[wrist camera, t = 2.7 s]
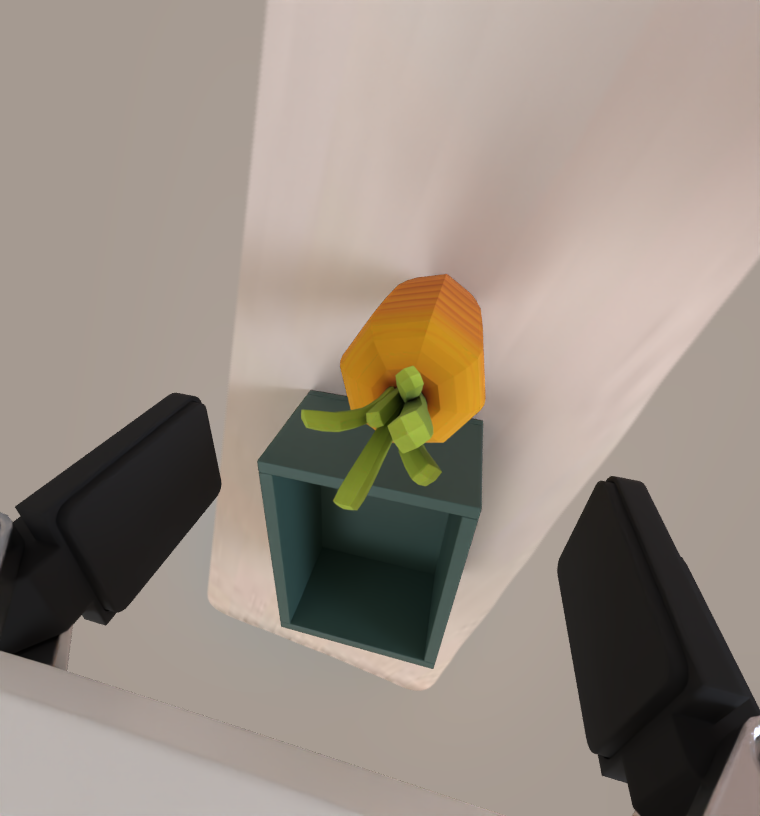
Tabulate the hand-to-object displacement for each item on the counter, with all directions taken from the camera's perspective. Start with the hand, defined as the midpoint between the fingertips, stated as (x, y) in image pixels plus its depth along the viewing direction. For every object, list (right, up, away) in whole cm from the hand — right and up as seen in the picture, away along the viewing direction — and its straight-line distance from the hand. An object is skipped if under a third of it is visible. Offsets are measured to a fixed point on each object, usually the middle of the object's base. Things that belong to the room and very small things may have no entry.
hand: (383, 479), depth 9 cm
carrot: (+3, +8, +12) cm, 15 cm away
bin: (0, -5, +21) cm, 21 cm away
